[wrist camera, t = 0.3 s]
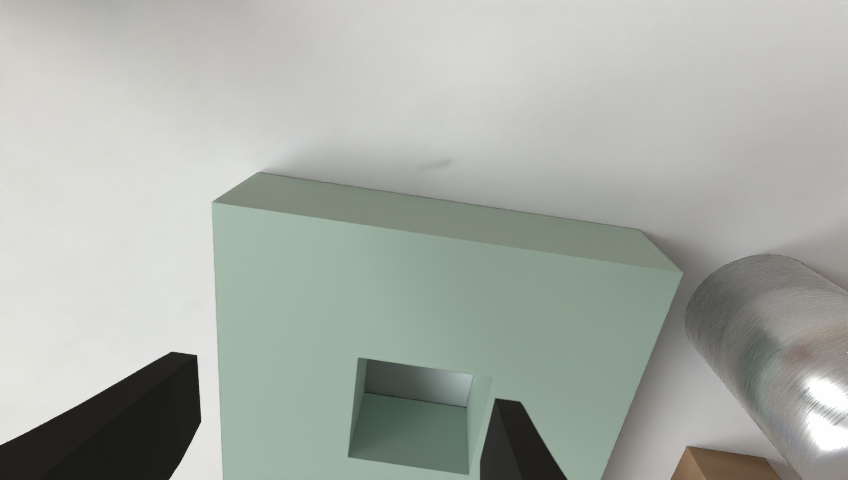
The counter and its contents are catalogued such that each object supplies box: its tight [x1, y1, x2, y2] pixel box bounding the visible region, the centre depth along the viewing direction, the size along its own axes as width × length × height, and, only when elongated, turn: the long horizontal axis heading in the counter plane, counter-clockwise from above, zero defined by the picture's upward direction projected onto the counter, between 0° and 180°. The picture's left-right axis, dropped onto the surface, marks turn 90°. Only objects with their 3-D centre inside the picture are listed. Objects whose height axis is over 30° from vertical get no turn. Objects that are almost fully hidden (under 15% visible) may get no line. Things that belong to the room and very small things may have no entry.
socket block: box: [212, 172, 683, 480], centre depth 21 cm, size 16×16×4 cm
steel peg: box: [685, 254, 848, 480], centre depth 17 cm, size 6×6×8 cm
